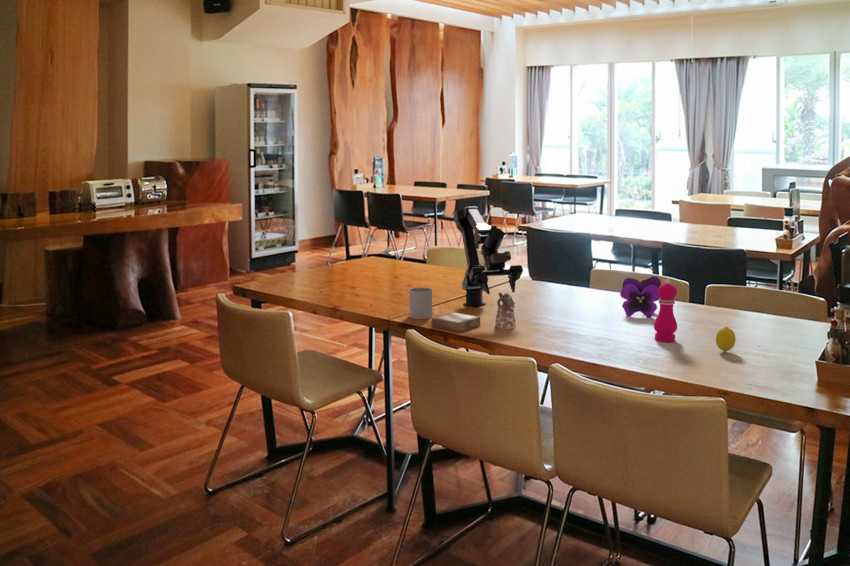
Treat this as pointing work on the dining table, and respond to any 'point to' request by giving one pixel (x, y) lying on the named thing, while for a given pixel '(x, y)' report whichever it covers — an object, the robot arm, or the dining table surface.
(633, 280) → the flower
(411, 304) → the cup
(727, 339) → the lemon
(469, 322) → the plinth
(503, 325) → the figurine
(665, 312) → the pepper mill
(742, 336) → the dining table surface
